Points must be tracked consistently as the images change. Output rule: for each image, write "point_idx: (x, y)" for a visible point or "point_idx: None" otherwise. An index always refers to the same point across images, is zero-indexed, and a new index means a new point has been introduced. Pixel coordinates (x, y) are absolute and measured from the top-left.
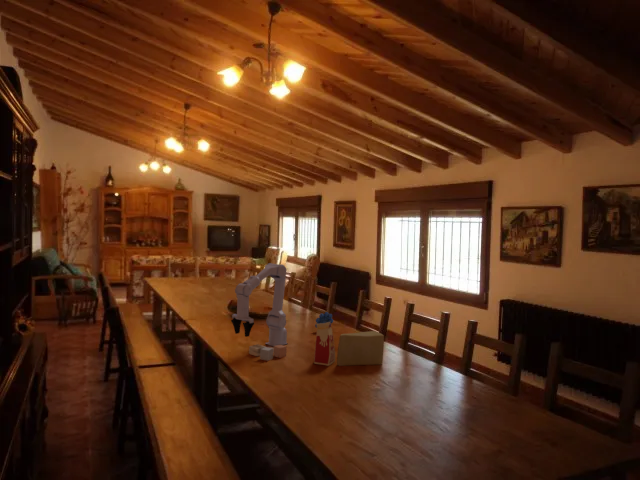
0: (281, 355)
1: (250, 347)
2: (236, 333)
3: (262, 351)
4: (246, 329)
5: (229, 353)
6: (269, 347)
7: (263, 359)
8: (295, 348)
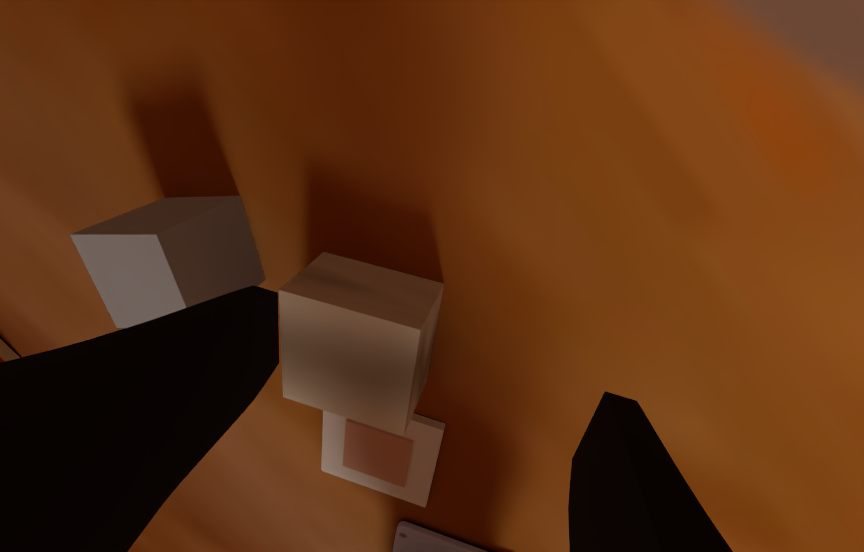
0: None
1: (399, 318)
2: (602, 404)
3: (151, 225)
4: (26, 368)
5: (660, 165)
6: (402, 484)
7: (204, 197)
8: (286, 527)
